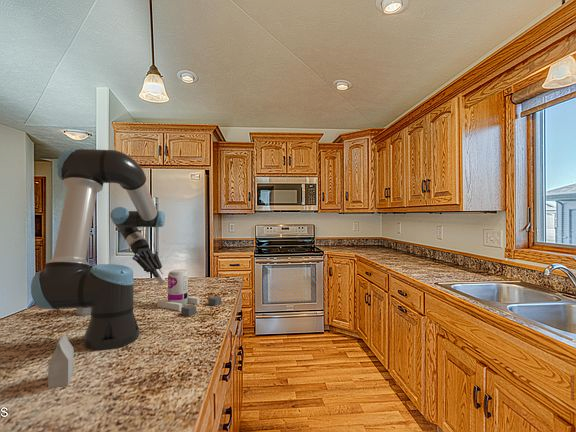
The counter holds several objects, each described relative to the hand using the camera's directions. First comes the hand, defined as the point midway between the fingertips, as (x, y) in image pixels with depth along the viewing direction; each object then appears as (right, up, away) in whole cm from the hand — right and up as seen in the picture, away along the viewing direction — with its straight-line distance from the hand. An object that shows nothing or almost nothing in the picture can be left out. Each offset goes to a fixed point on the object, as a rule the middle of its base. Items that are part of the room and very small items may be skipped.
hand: (162, 281), depth 141 cm
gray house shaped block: (+4, -9, -68) cm, 69 cm away
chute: (+13, -9, -7) cm, 17 cm away
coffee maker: (-23, -9, -16) cm, 29 cm away
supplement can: (+9, -9, -5) cm, 14 cm away
